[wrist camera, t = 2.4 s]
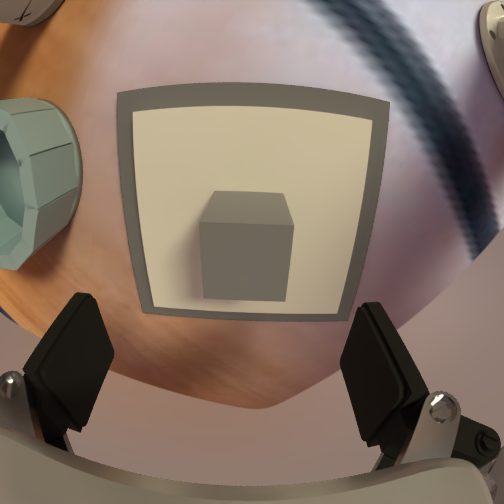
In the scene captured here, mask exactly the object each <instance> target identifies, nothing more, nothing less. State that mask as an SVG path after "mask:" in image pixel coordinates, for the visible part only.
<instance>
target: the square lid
mask: <svg viewBox="0 0 504 504" xmlns="http://www.w3.org/2000/svg"><path fill="white" fill-rule="evenodd" d="M371 130H372V120H368V119H363V118H358V117H352V116H346V115H340V114H333V113H326V112H318V111H309V110H300V109H289V108H275V107H256V106H198V107H179V108H165V109H154V110H145V111H137V112H133V145H134V164H135V178H136V190H137V200H138V209H139V218H140V226H141V234H142V241H143V248H144V254H145V260H146V266H147V272H148V278H149V283H150V288H151V293H152V298H153V303H154V307H165V308H177V309H191V310H206V311H223V312H246V313H281V314H337V312H338V308H339V305H340V301H341V297H342V293H343V289H344V285H345V281H346V277H347V273H348V269H349V265H350V260H351V256H352V251H353V247H354V242H355V237H356V232H357V227H358V222H359V216H360V211H361V205H362V199H363V193H364V186H365V180H366V173H367V165H368V157H369V149H370V140H371Z"/></svg>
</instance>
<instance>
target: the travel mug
mask: <svg viewBox="0 0 504 504" xmlns="http://www.w3.org/2000/svg"><path fill="white" fill-rule="evenodd" d="M63 1H64V0H0V22H1V23H9V24H17V25H22V26H34V25H37V24H38V23H40V22H42V21H44V20H45V19H46V18H48V17H49V16H50V15H51V14H52V13H53V12H54V11H55V10H56V9H57V8H58V7H59V6H60V4H61V3H62V2H63Z"/></svg>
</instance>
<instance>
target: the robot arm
mask: <svg viewBox="0 0 504 504" xmlns="http://www.w3.org/2000/svg"><path fill="white" fill-rule="evenodd" d="M479 24H480V34H481V39H482V44H483V48H484V52H485V55H486V59H487V62H488V65H489V67H490V70H491V73H492V75H493V78H494V80H495V82H496V85H497V87H498V89H499V91H500V93H501V94H502V96H503V98H504V2H503V1H499V0H496V1H490V2H488V3H485V5H484V6H483V7H482V9H481V12H480V22H479ZM113 358H114V349H113V346H112V344H111V341H110V339H109V336H108V333H107V331H106V328H105V325H104V322H103V319H102V317H101V314H100V311H99V308H98V304H97V301H96V299H95V298H93V297H92V295H91V294H89V293H80V292H77V293H75V294H74V295H73V297H72V298H71V299H70V301H69V302H68V303H67V305H66V306H65V307H64V308H63V310H62V311H61V312H60V314H59V315H58V317H57V318H56V319H55V321H54V322H53V323H52V325H51V326H50V328H49V329H48V331H47V332H46V333H45V335H44V336H43V338H42V339H41V341H40V342H39V344H38V346H37V347H36V348H35V350H34V351H33V353H32V354H31V356H30V357H29V359H28V361H27V362H26V364H25V365H24V367H23V371H24V372H25V374H24V376H22V375H21V374H20V373H19V372H17V371H8V372H6V373H4V374H3V375H1V376H0V504H504V446H503V447H502V448H501V442H500V438H499V436H498V434H497V432H496V431H494V430H493V429H492V428H490V427H488V426H485V425H483V424H480V423H478V422H476V421H473V420H471V419H469V418H467V417H464V416H462V415H461V408H460V405H459V403H458V401H457V400H456V398H455V397H454V396H452V395H451V394H449V393H447V392H443V391H436V392H433V393H431V394H430V393H429V391H428V388H427V386H426V384H425V382H424V380H423V379H422V376H421V374H420V372H419V370H418V369H417V367H416V365H415V363H414V361H413V359H412V357H411V355H410V354H409V352H408V350H407V348H406V346H405V345H404V343H403V341H402V339H401V337H400V336H399V334H398V332H397V330H396V329H395V327H394V325H393V324H392V322H391V320H390V318H389V317H388V315H387V313H386V312H385V310H384V308H383V307H382V305H381V304H380V303H379V302H365V303H363V304H362V306H361V307H358V308H357V311H356V314H355V317H354V321H353V324H352V327H351V330H350V333H349V336H348V339H347V341H346V344H345V347H344V350H343V353H342V355H341V358H340V367H341V370H342V373H343V377H344V380H345V383H346V387H347V390H348V393H349V397H350V400H351V403H352V407H353V411H354V414H355V417H356V421H357V425H358V428H359V432H360V435H361V439H362V440H363V441H366V443H367V446H368V447H372V446H376V445H380V449H381V452H382V453H381V454H380V456H379V458H378V460H377V462H376V464H375V465H374V467H373V469H372V471H371V472H369V473H364V474H360V475H355V476H350V477H344V478H338V479H333V480H326V481H319V482H311V483H303V484H292V485H277V486H223V485H208V484H198V483H189V482H181V481H174V480H168V479H162V478H156V477H151V476H146V475H142V474H137V473H133V472H129V471H125V470H121V469H117V468H114V467H110V466H107V465H104V464H100V463H97V462H94V461H91V460H88V459H85V458H82V457H80V456H77V455H75V454H74V452H73V449H72V447H71V444H70V442H69V439H68V436H67V433H66V431H67V429H68V428H69V429H72V430H75V431H77V432H81V430H82V427H84V426H86V424H87V422H88V420H89V417H90V414H91V412H92V409H93V406H94V404H95V401H96V399H97V396H98V393H99V391H100V389H101V386H102V384H103V381H104V379H105V376H106V374H107V372H108V370H109V367H110V365H111V363H112V360H113Z"/></svg>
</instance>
